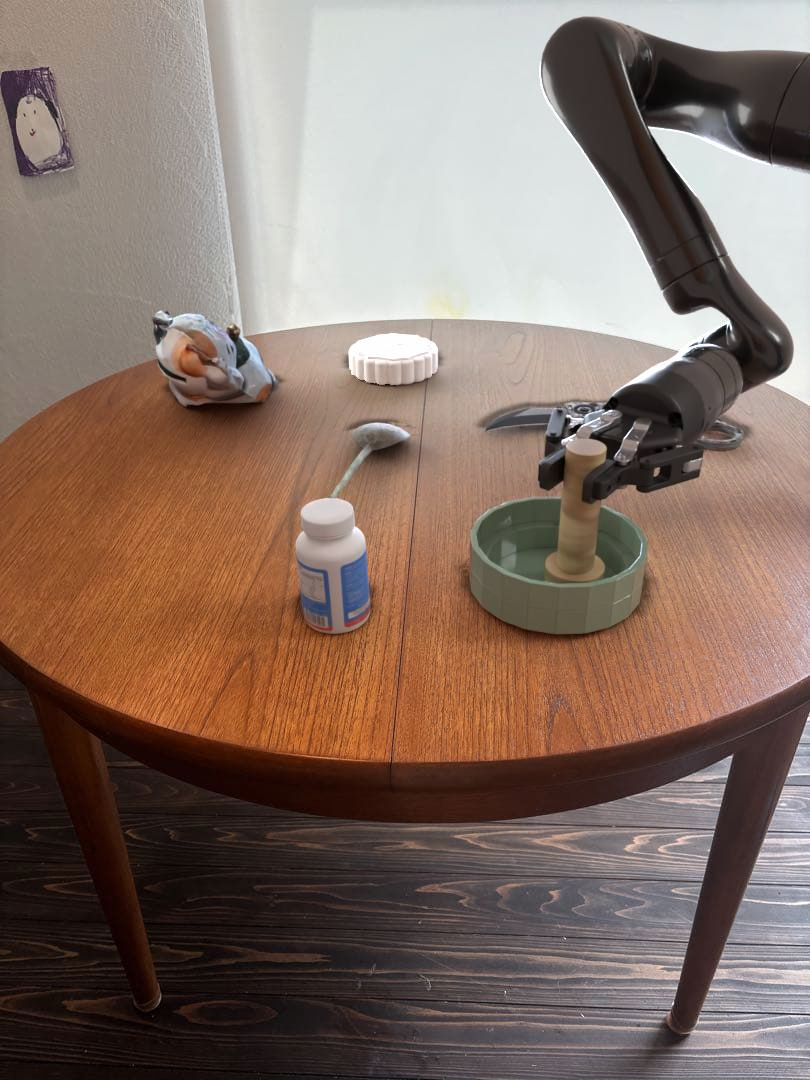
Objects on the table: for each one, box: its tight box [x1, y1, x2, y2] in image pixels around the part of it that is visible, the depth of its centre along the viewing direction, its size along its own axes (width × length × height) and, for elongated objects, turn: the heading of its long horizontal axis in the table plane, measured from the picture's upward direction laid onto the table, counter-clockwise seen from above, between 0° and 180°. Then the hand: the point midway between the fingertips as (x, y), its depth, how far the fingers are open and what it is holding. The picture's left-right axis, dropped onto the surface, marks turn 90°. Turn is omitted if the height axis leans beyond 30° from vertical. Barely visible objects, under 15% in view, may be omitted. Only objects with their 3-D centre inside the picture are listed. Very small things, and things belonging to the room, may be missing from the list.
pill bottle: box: [295, 497, 371, 635], centre depth 67 cm, size 6×5×10 cm
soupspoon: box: [326, 422, 411, 499], centre depth 90 cm, size 22×3×7 cm
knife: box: [483, 400, 745, 451], centre depth 99 cm, size 28×2×10 cm
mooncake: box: [348, 332, 439, 386], centre depth 117 cm, size 12×12×4 cm
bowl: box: [468, 496, 649, 635], centre depth 71 cm, size 14×14×5 cm
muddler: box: [544, 439, 607, 584], centre depth 68 cm, size 5×5×12 cm
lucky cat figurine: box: [151, 309, 279, 406], centre depth 106 cm, size 15×12×14 cm
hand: (565, 484), depth 64 cm, fingers closed on muddler, 3 cm apart
